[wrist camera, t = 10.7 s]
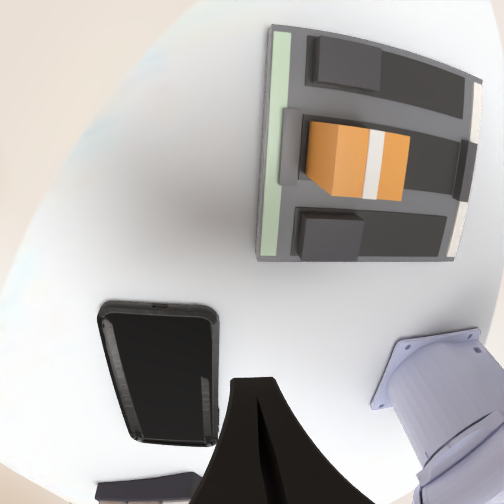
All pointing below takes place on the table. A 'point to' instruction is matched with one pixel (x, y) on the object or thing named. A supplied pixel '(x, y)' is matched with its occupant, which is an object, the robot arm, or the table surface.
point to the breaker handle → (357, 161)
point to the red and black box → (150, 490)
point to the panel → (371, 117)
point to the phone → (164, 370)
